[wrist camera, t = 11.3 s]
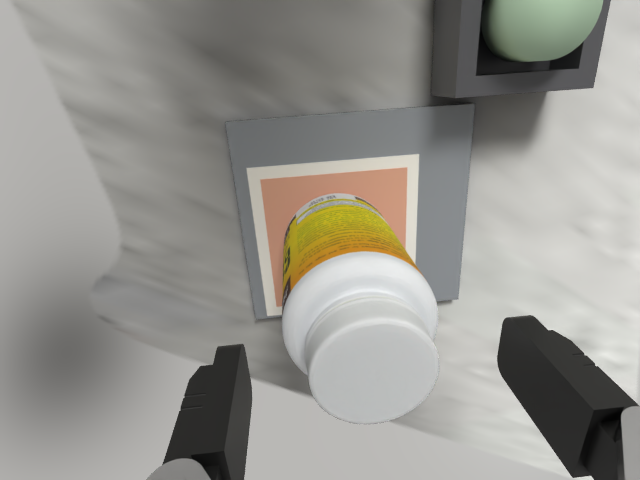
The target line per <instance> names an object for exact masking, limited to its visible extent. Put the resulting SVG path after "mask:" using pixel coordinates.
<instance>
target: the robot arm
mask: <svg viewBox="0 0 640 480" xmlns="http://www.w3.org/2000/svg"><path fill="white" fill-rule="evenodd" d="M497 362H498V367H499V371H500V373H501V375H502V377H503V379H504V380H505V382H506V383H507V385H508V386H509V387H510V389H511V390H512V392H513V393H514V395H515V396H516V397H517V399H518V400H519V402H520V403H521V405H522V406H523V407H524V409H525V410H526V412H527V413H528V415H529V416H530V417H531V419H532V420H533V422H534V423H535V425H536V426H537V427H538V429H539V430H540V432H541V433H542V435H543V436H544V437H545V439H546V440H547V442H548V443H549V445H550V446H551V447H552V449H553V450H554V452H555V453H556V455H557V456H558V457H559V459H560V460H561V462H562V463H563V465H564V466H565V467H566V469H567V470H568V472H569V473H570V475H571V476H572V477H573V478H575V477H583V476H592V477H593V479H594V480H640V406H639V405H638V404H637V403H636V402H635V401H634V400H633V399H631V398H630V397H629V396H628V395H627V394H626V393H625V392H624V391H623V390H622V389H621V388H620V387H619V386H618V385H617V384H616V383H615V382H614V381H613V380H612V379H611V378H609V377H608V376H607V375H606V374H605V373H604V372H603V371H602V370H601V369H600V368H599V367H598V366H597V367H596V366H595V363H594V362H593V361H592V360H591V359H590V358H589V357H588V356H585V355H584V353H583V352H582V351H581V350H580V349H579V348H578V347H577V346H576V345H575V344H574V343H573V342H572V341H571V340H569V339H567V338H566V337H564V336H562V335H560V334H559V333H557V332H555V331H553V330H549V331H548V330H547V329H546V328H545V327H544V326H543V325H542V324H541V323H540V322H539V321H538V320H537V319H536V318H535V317H534V316H531V315H528V316H519V317H509V318H505V319H504V321H503V324H502V330H501V337H500V343H499V349H498V356H497ZM251 407H252V387H251V379H250V374H249V368H248V363H247V357H246V352H245V347H244V345H243V344H238V345H228V346H219V347H218V348H217V351H216V355H215V359H214V363H213V365H206V366H200V367H199V369H198V370H197V371H196V372H195V374H194V375H193V376H192V377H191V378H190V380H189V383H188V386H187V389H186V392H185V398H184V399H183V401H182V405H181V411H179V414H178V418H177V421H176V424H175V427H174V430H173V434H172V437H171V440H170V443H169V446H168V449H167V453H166V456H165V459H164V462H163V464H162V466H160V467H159V468H158V469H156V470H155V471H154V472H153V473H152V474H151V475H150V476H149V477H148V478H147V480H244V475H245V464H246V455H247V446H248V436H249V426H250V417H251Z"/></svg>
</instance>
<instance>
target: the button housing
mask: <svg viewBox="0 0 640 480" xmlns="http://www.w3.org/2000/svg"><path fill="white" fill-rule="evenodd" d="M610 1H611V0H603V5H602V9H601V12H600V15H599V18H598V20H597V22H596V24H595V26H594V28H593V29H592V31H591V33H590V34H589V35H588V37H587V38H586V39H585V40H584V41H583V42H582V43H581V44H580V45H579V46H578V47H577V48H576V49H574V50H573V51H572V52H570V53H568V54H567V55H565V56H562V57H560V58H557V59H554V60H547V61H532V62H508V61H505V60H502V59H500V58H498V57H497V56H496V55H494V54H493V53H492V52H491V51H490V49H489V48H488V46H487V44H486V42H485V40H484V37H483V33H482V26H481V17H482V10H483V6H484V3H485V0H435V11H434V33H433V56H432V79H431V95H433V96H441V97H450V98H464V97H478V96H491V95H504V94H518V93H531V92H545V91H558V90H571V89H585V88H593V87H594V82H595V77H596V72H597V67H598V61H599V56H600V51H601V46H602V41H603V36H604V31H605V26H606V21H607V16H608V11H609V6H610Z"/></svg>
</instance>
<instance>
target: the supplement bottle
mask: <svg viewBox="0 0 640 480" xmlns="http://www.w3.org/2000/svg"><path fill="white" fill-rule="evenodd" d="M437 326H438V308H437V303H436V299H435V296H434V294H433V292H432V290H431V288H430V286H429V284H428V282H427V281H426V279H425V278H424V276H423V275H422V273H421V272H420V271H419V269H418V268H417V266H416V265H415V263H414V262H413V260H412V259H411V257H410V256H409V254H408V253H407V252H406V250H405V249H404V247H403V246H402V244H401V242H400V241H399V240H398V238H397V237H396V235H395V234H394V232H393V231H392V229H391V228H390V226H389V225H388V223H387V222H386V220H385V219H384V217H383V216H382V215H381V213H380V212H379V211H378V210H377V209H376V208H375V207H374V206H373V205H372V204H370V203H369V202H367V201H366V200H364V199H362V198H360V197H358V196H355V195H351V194H344V193H334V194H327V195H323V196H320V197H317V198H315V199H313V200H311V201H309V202H308V203H306V204H305V205H304V206H302V207H301V208H300V209H299V210H298V211H297V212H296V214H295V215H294V216H293V218H292V219H291V221H290V223H289V225H288V227H287V229H286V233H285V238H284V250H283V296H282V333H283V339H284V343H285V346H286V349H287V351H288V353H289V355H290V357H291V359H292V360H293V362H294V363H295V364H296V365H297V367H298V368H299V369H300V370H301V371H302V372H304V373H305V374H306V375H307V376H308V382H309V387H310V390H311V393H312V395H313V397H314V399H315V400H316V402H317V403H318V404H319V406H320V407H321V408H322V409H323V410H324V411H326V412H327V413H329V414H330V415H332V416H334V417H336V418H337V419H340V420H343V421H347V422H350V423H355V424H376V423H383V422H386V421H391V420H393V419H396V418H399V417H401V416H403V415H405V414H407V413H408V412H410V411H412V410H413V409H415V408H416V407H417V406H419V405H420V404H421V403H422V402H423V401H424V400H425V399H426V398H427V396H428V395H429V394H430V392H431V391H432V389H433V387H434V385H435V383H436V381H437V378H438V374H439V356H438V351H437V348H436V346H435V344H434V342H433V341H434V338H435V335H436V331H437Z"/></svg>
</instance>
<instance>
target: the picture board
mask: <svg viewBox="0 0 640 480" xmlns="http://www.w3.org/2000/svg"><path fill="white" fill-rule="evenodd" d="M474 112H475V104H473V103H463V104H450V105H437V106H424V107H410V108H397V109H384V110H371V111H358V112H344V113H331V114H318V115H305V116H292V117H278V118H265V119H252V120H239V121H227V122H225V125H226V132H227V138H228V144H229V151H230V157H231V164H232V170H233V177H234V183H235V189H236V196H237V202H238V209H239V215H240V222H241V228H242V234H243V241H244V247H245V254H246V260H247V267H248V273H249V279H250V286H251V292H252V299H253V305H254V312H255V318H256V319H265V318H275V317H282V296H283V250H284V238H285V233H286V229H287V227H288V225H289V223H290V221H291V219H292V218H293V216H294V215H295V214H296V212H297V211H298V210H299V209H300V208H301V207H302V206H304V205H305V204H306V203H308V202H309V201H311V200H313V199H315V198H317V197H320V196H323V195H327V194H334V193H344V194H351V195H355V196H358V197H360V198H362V199H364V200H366V201H367V202H369V203H370V204H372V205H373V206H374V207H375V208H376V209H377V210H378V211H379V212H380V213H381V215H382V216H383V217H384V219H385V220H386V222H387V223H388V225H389V226H390V228H391V229H392V231H393V232H394V234H395V235H396V237H397V238H398V240H399V241H400V242H401V244H402V246H403V247H404V249H405V250H406V252H407V253H408V254H409V256H410V257H411V259H412V260H413V262H414V263H415V265H416V266H417V268H418V269H419V271H420V272H421V273H422V275H423V276H424V278H425V279H426V281H427V282H428V284H429V286H430V288H431V290H432V292H433V294H434V296H435V299H436V301H445V300H456V299H458V295H459V284H460V272H461V261H462V249H463V238H464V226H465V215H466V203H467V192H468V180H469V169H470V158H471V146H472V135H473V123H474Z"/></svg>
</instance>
